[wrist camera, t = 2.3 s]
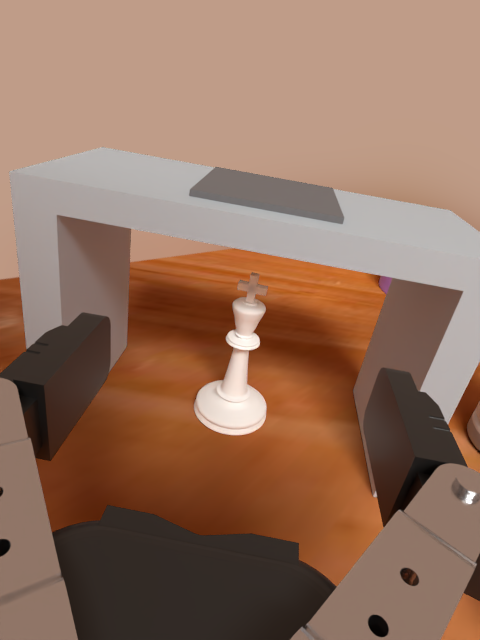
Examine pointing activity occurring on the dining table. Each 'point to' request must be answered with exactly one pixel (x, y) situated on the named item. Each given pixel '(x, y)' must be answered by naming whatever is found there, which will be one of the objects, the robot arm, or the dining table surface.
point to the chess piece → (237, 372)
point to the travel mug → (475, 427)
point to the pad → (269, 194)
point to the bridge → (252, 235)
